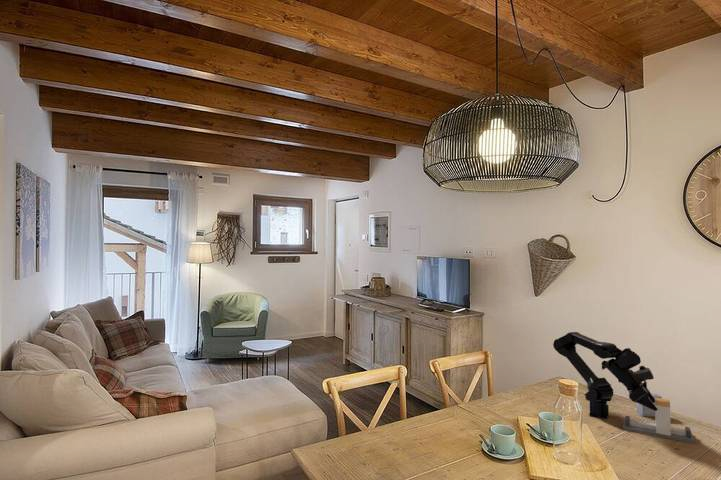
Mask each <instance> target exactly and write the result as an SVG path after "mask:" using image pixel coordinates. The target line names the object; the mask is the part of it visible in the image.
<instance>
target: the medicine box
mask: <svg viewBox="0 0 721 480" xmlns="http://www.w3.org/2000/svg"><path fill="white" fill-rule="evenodd" d="M650 393H651V394H652V396H653V397H654V399H655V398H661V399H663V397H662V396H661V395H659V394H658V393H656V392H650ZM653 404H654V405H655V403H653ZM636 413H637V414H639V415H640V416H641V417H655V411H654V410H652V409H650V408H648V407H646V406H644V405H641V404H639V403H637V402H636Z"/></svg>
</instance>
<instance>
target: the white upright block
mask: <svg viewBox="0 0 721 480" xmlns="http://www.w3.org/2000/svg"><path fill="white" fill-rule="evenodd" d="M655 406H656V408H657V409H658V410H656V411H655V416H654V417H655V418H654V420H655V421H654V424H656V433H659V434H664V435H669V436H671V427H672V426H671V402H670V399H667V398H666V399H665V398H662V399H661V398H655Z"/></svg>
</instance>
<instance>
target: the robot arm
mask: <svg viewBox="0 0 721 480" xmlns="http://www.w3.org/2000/svg"><path fill="white" fill-rule="evenodd" d="M552 345H553V349H554V351H556V352H557V353H558V354H559V355H561V356H563V357H565V358H566V359H567V360H568V361H569V362H570V364H572V366H573V368H574V369H575V370H576V371H577V372H578V374H579V375H580V376H581V377H582V379H583V380H584V381H585V382H586V385H587V390H588V391H587V392H586V393H584V397H585V400H586V401H588V402H589V414H588V416H590V417H595V418H600V419H604V420H607V419H608V417H609V416H610V412H609V409H610V407H609V406H610V405H609V404H608V402H611V401H612V399H613V396H614V389H613V387H612V384H611V383H609V382H608V380H607V379H606V378H605V377H598V376H597V375H596V374H595V372H594V371H593V370H592V368H590V367H589V365H588V364H587V363H586V362H585V361H584V359H583V358H582V357H581V356H580V355H579V353H578V352H577V348H576V346H577V345H579V346H581V347H583V348H586V349H588V350H590V351H592V352H593V354H594V355H595V356H597V357H598V358H600V359H602V360H603V359H609V360H603V361H602V362H601V370H602V371H603V370H605V369H607V370H608V371H609V372H610V373H611V374H612V375H613V376H614V377H615V378H616V379H617V382H618V383H621V384H622V385H623V386H624V387H625V388H626V391H628V398H629V399H630V400H631V402H633V403H636V404H637V403H639V404H641V405H644V406H646V407H648V408H650V409H652V410H654V411H656V410H658V409H657V408H656V406H655V405H654V404H653V403H655V399H654V397H653V396H652V394H651V393H652V392H650V390H649V389H648V385H647V384H648V383H647V381H650V380H654V374H653V372H652V371H651V369H650V368H649V367H646V366H645V365H641V363H642V361H641V357H640V355H638V353H636V352H635V351H633V350H632V349H631V348H630V347H628V348H626V347H625V348H624V349H623V350H622V349H620V348H618V347H617V345H616V344H615V343H611V342H607V341H606V342H605V341H598V340H596V339H594V338H591V337H588V336H586V335H583V334H582V333H580V332H578V331H570V332H568V333H566V334H565V335H562V336H561V337H558V338H556V339H554V341H553V343H552ZM638 365H640V366H639V367H638V368H639V369H637V370H636V371H633V369H632V368H635V367H636V366H638Z"/></svg>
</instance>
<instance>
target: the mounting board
mask: <svg viewBox="0 0 721 480" xmlns="http://www.w3.org/2000/svg"><path fill="white" fill-rule="evenodd" d="M622 430H626V431H630V432H635V433H640V434H645V435H650V436H655V437H660V438H664V439H665V438H666V439H670V440H675V441H679V442H684V443H689V444H695V438H694V434H693V432H692V430H691V427H689V426H685V427H684V429H683V428H677V427H672V426H671V436H669V435H664V434H659V433H656V424H655V423H651V422H647V421H640V420H636V419H631V417H630V415H625V417H624V418H623V421H622Z"/></svg>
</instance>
